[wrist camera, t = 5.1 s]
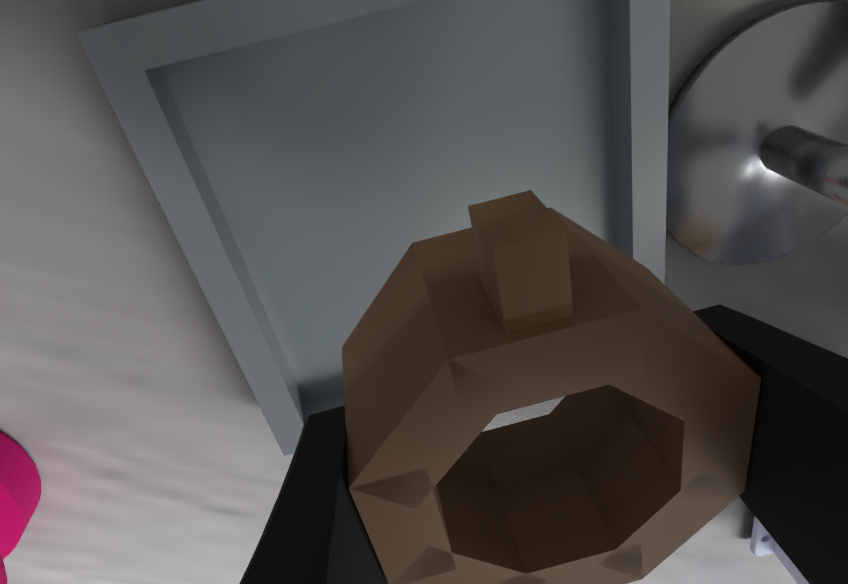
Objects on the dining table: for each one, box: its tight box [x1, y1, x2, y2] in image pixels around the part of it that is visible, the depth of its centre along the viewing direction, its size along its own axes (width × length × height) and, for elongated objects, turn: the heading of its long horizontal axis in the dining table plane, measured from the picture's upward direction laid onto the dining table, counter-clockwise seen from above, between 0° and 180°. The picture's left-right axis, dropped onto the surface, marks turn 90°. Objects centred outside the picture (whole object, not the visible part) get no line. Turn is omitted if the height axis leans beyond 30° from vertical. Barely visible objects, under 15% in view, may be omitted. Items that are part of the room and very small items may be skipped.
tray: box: [75, 0, 671, 456], centre depth 16 cm, size 13×13×2 cm
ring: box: [342, 190, 761, 584], centre depth 9 cm, size 5×8×3 cm
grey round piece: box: [666, 1, 848, 265], centre depth 16 cm, size 8×8×5 cm
